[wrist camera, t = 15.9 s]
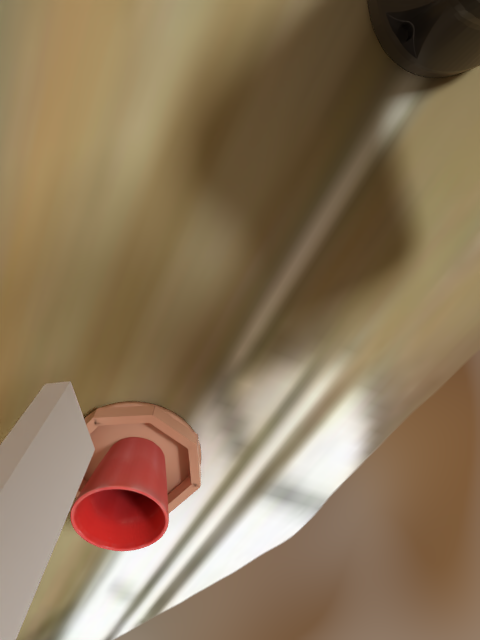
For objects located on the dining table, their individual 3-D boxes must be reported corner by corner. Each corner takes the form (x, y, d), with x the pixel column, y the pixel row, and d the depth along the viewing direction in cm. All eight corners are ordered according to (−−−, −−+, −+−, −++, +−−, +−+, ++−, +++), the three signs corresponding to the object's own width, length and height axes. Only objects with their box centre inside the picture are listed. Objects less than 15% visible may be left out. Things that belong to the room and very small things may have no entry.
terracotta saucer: (197, 398, 48) (195, 411, 46) (204, 497, 56) (204, 514, 53) (57, 404, 48) (48, 418, 45) (83, 505, 55) (76, 522, 52)
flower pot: (152, 497, 54) (139, 564, 45) (82, 466, 51) (53, 532, 42) (191, 449, 51) (185, 511, 42) (119, 414, 48) (97, 472, 39)
